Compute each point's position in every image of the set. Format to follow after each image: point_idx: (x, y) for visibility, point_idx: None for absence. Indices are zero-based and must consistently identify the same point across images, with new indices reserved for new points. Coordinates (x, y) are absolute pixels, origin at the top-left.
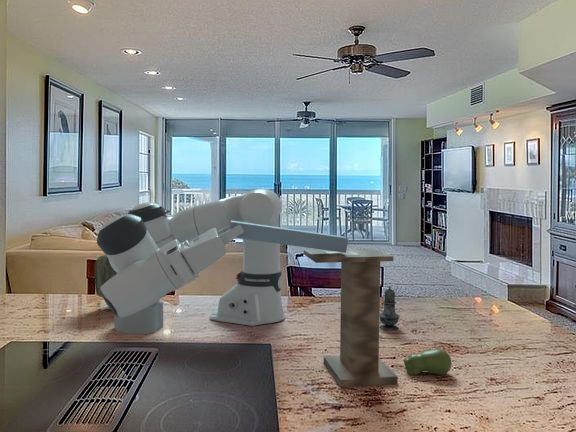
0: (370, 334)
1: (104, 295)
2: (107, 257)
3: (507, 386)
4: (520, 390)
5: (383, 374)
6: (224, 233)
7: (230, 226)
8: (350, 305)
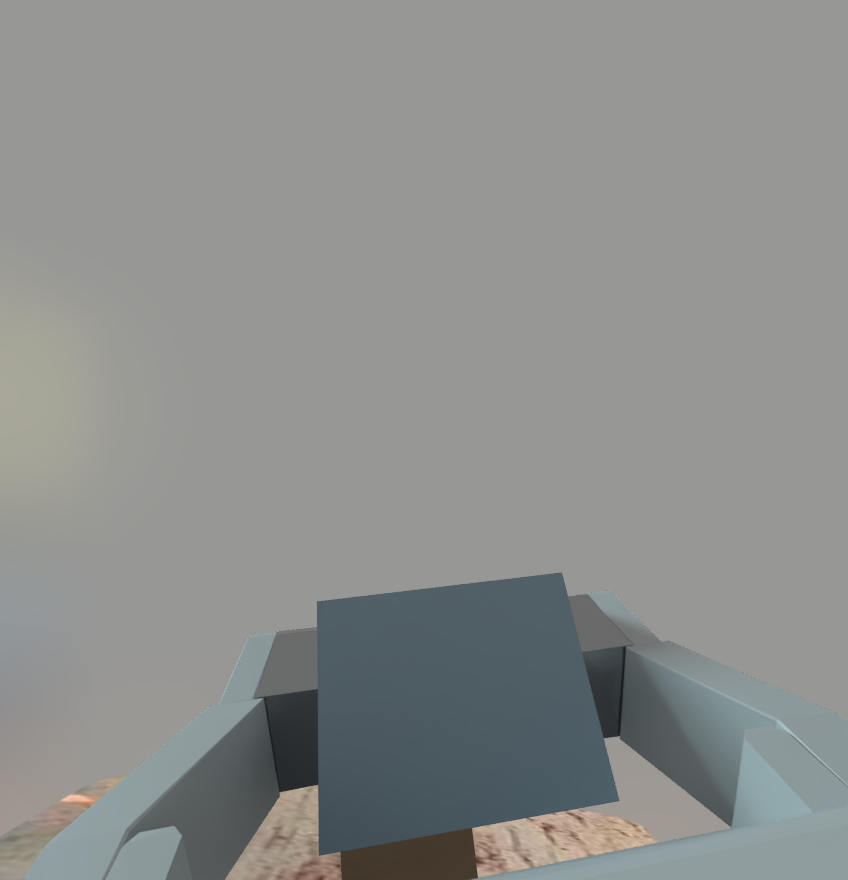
0: None
1: None
2: None
3: (508, 849)
4: (522, 839)
5: None
6: (838, 718)
7: (507, 649)
8: (463, 875)
